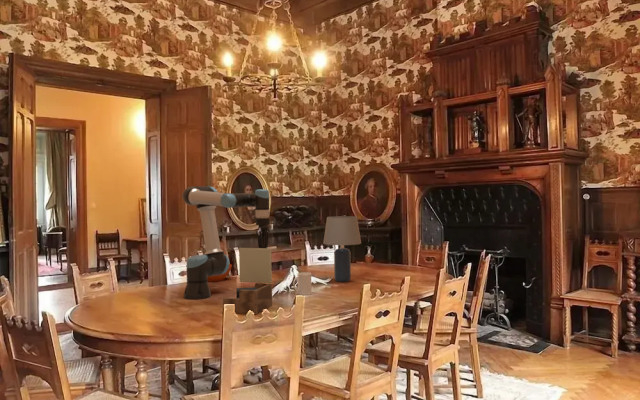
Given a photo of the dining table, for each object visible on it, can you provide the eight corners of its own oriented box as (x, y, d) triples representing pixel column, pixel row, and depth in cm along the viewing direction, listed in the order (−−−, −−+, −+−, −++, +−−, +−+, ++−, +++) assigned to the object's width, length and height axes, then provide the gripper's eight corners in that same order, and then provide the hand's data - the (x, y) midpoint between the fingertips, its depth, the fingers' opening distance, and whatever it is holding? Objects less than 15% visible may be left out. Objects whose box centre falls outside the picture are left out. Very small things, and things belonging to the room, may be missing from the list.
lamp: (318, 279, 350) (318, 216, 349) (353, 277, 357) (352, 215, 357) (330, 285, 326) (330, 218, 325) (367, 283, 333) (366, 217, 333)
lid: (239, 248, 272) (240, 247, 274) (239, 281, 273) (240, 281, 274) (270, 248, 267) (271, 248, 269) (270, 283, 267) (272, 282, 269)
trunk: (223, 312, 255) (222, 289, 255) (240, 304, 274) (240, 282, 274) (256, 314, 249) (256, 291, 249) (272, 305, 269) (271, 283, 268)
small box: (236, 311, 258) (236, 290, 257) (236, 308, 264) (236, 288, 264) (258, 309, 260) (257, 289, 260) (256, 307, 266) (256, 287, 266)
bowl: (239, 278, 357) (239, 264, 357) (213, 284, 336) (213, 268, 336) (213, 275, 370) (212, 262, 370) (186, 281, 349) (186, 266, 349)
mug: (296, 296, 292) (296, 275, 292) (289, 294, 300) (289, 273, 300) (314, 294, 298) (314, 273, 298) (307, 291, 306) (307, 271, 306)
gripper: (264, 218, 272) (265, 262, 272) (273, 217, 285) (274, 259, 285) (251, 218, 275) (252, 262, 275) (261, 217, 287) (261, 259, 287)
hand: (263, 260), depth 280 cm, fingers closed
